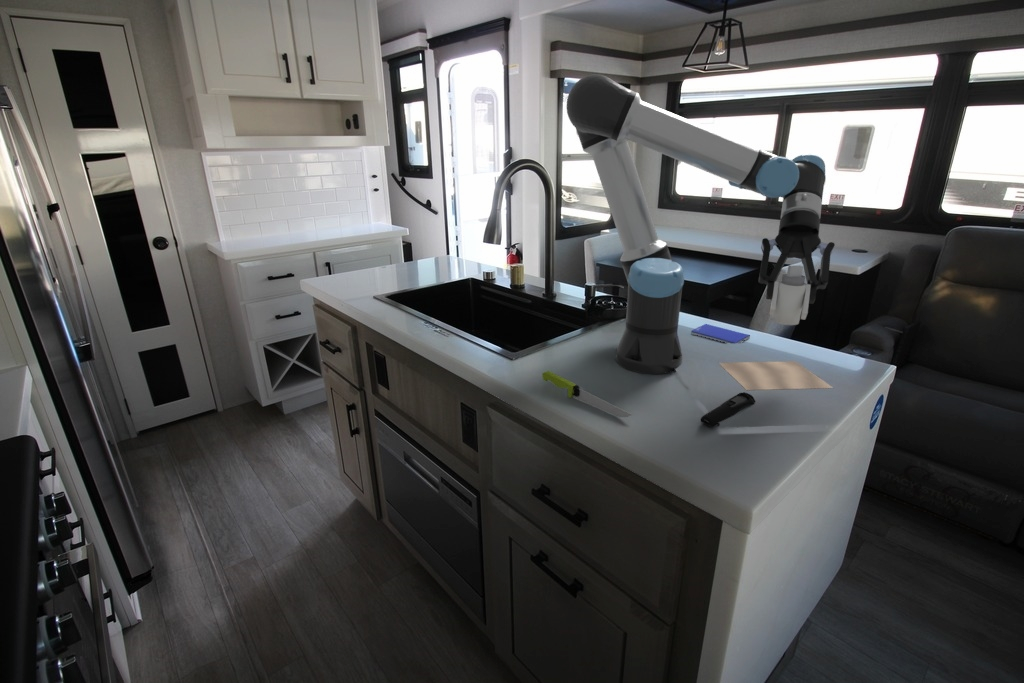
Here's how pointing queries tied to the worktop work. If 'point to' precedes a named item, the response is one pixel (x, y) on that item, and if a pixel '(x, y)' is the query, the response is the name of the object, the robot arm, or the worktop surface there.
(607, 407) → the kitchen knife
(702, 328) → the hard drive
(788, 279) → the white bottle
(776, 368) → the board
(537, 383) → the worktop surface
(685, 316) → the worktop surface
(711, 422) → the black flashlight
